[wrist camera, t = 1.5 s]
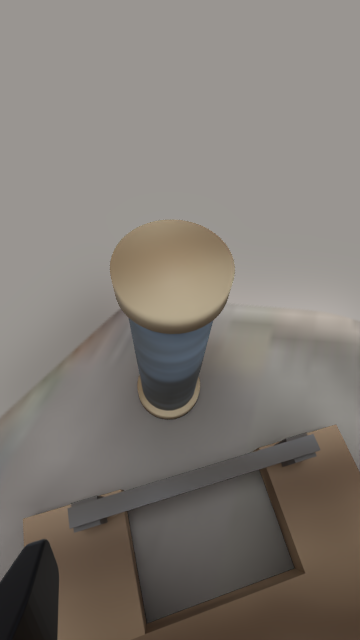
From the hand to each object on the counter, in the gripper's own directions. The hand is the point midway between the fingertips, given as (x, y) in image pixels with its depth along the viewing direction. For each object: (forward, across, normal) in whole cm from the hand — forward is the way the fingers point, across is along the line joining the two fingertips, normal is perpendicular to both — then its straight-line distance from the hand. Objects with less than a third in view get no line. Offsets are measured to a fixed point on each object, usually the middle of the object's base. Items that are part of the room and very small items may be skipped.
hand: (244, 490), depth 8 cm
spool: (+14, 0, +4) cm, 14 cm away
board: (+6, 0, +11) cm, 13 cm away
